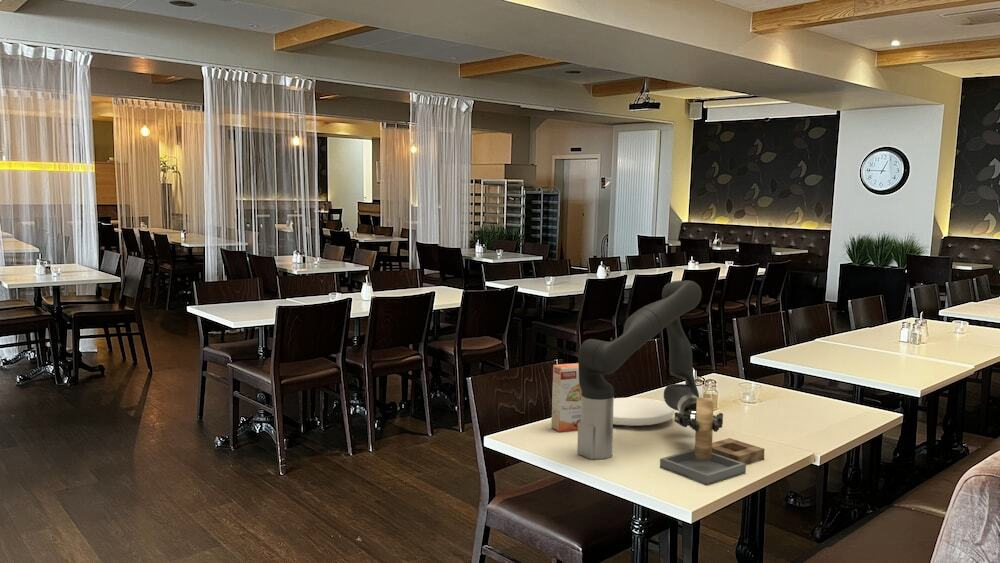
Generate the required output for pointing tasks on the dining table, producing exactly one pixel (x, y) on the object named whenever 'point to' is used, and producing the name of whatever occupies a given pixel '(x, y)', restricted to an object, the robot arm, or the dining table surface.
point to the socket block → (738, 450)
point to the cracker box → (566, 397)
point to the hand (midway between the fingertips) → (706, 427)
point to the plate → (640, 411)
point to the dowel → (704, 428)
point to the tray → (703, 467)
